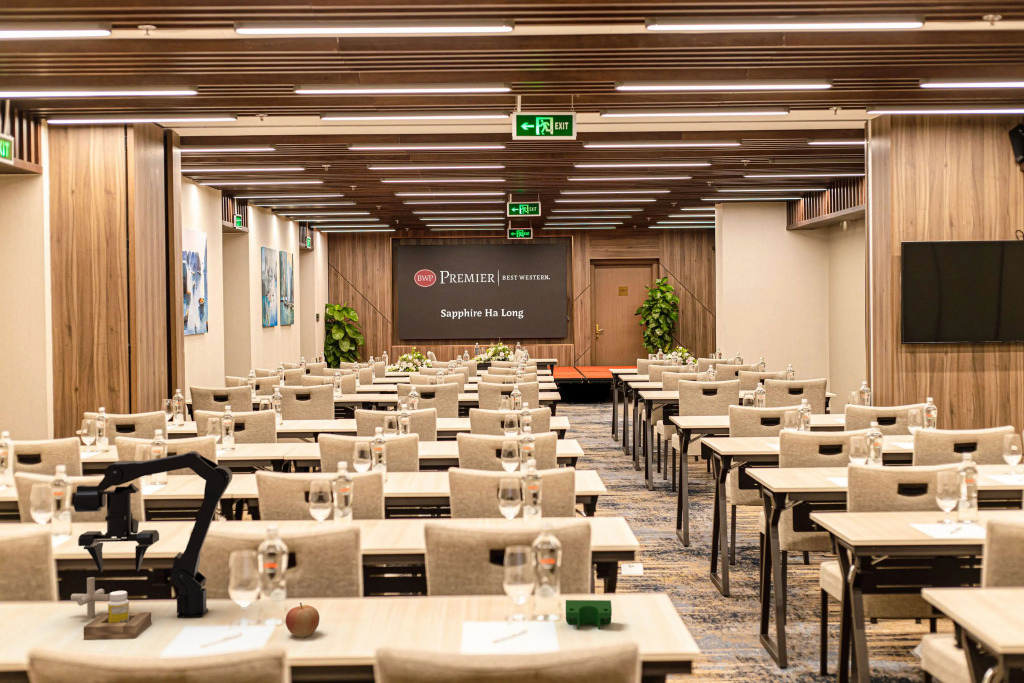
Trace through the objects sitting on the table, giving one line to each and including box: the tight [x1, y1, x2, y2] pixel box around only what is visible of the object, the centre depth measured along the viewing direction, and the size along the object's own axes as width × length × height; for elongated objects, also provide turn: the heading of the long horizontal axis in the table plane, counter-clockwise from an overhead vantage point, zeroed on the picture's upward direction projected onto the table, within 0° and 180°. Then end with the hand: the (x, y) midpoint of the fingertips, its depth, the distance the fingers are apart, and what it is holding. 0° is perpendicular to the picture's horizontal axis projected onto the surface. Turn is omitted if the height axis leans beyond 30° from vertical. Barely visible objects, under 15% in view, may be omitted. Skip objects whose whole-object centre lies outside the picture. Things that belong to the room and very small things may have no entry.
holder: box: [83, 611, 152, 640], centre depth 235 cm, size 12×12×3 cm
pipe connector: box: [70, 576, 110, 619], centre depth 248 cm, size 10×10×10 cm
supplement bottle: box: [107, 590, 130, 623], centre depth 235 cm, size 5×5×8 cm
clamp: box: [565, 599, 613, 630], centre depth 235 cm, size 12×6×9 cm, turn 81°
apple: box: [285, 602, 320, 638], centre depth 230 cm, size 8×8×8 cm
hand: (119, 571), depth 247 cm, fingers open, 9 cm apart
